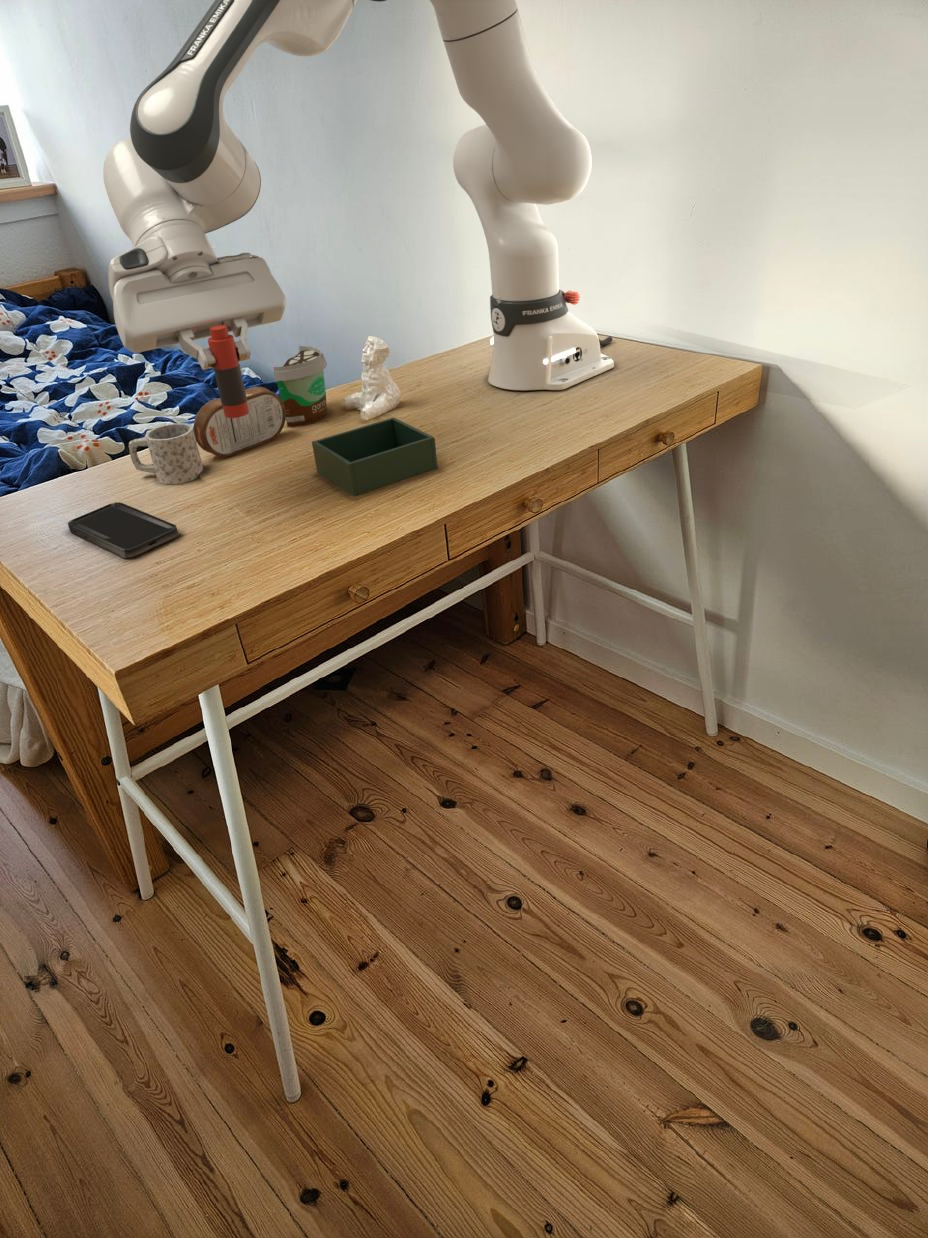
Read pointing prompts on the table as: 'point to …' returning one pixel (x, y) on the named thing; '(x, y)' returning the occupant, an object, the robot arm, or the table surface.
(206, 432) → the tin
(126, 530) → the phone
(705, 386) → the table surface
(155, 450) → the mug
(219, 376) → the red and grey bottle
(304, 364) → the food container
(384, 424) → the dark green open box
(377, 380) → the seated beast figurine
